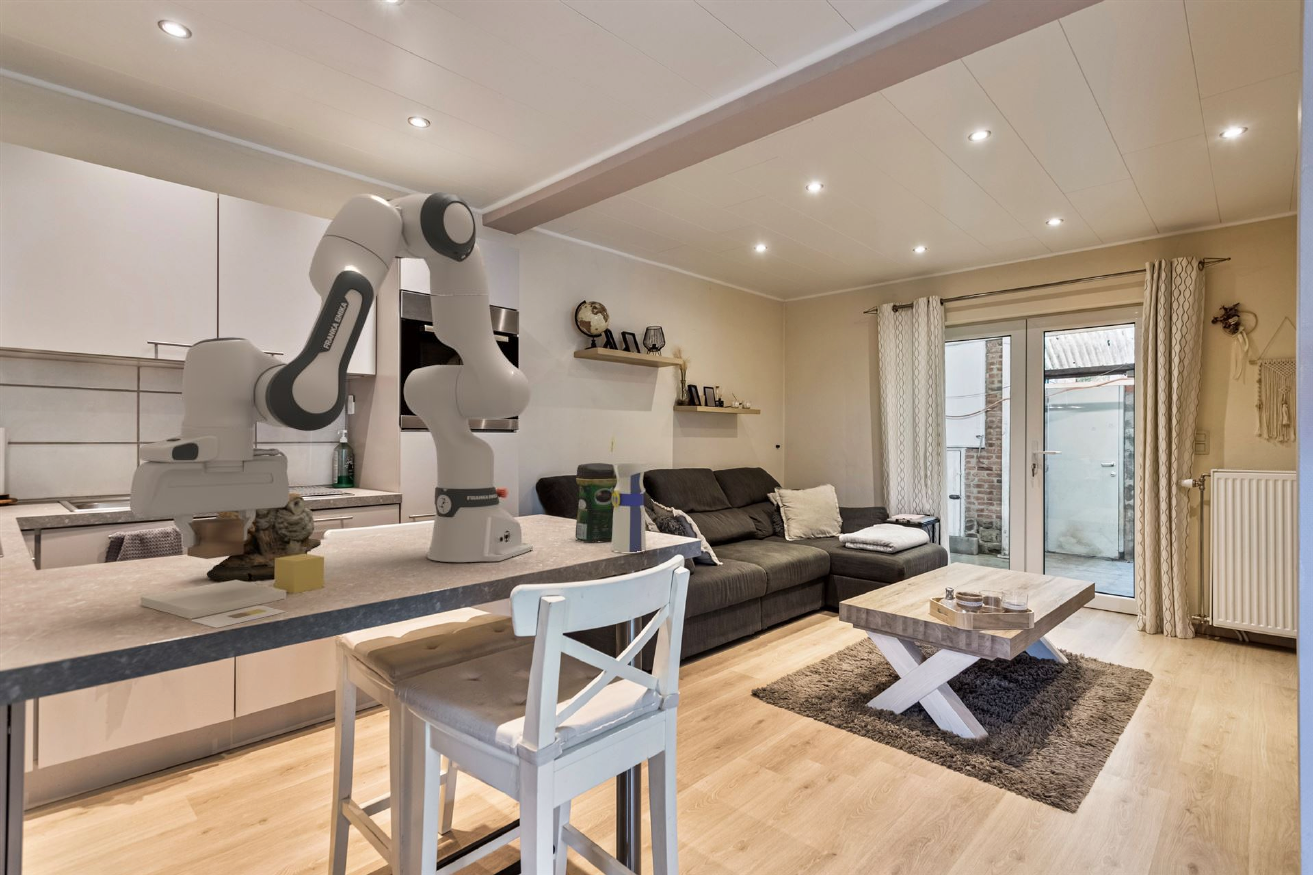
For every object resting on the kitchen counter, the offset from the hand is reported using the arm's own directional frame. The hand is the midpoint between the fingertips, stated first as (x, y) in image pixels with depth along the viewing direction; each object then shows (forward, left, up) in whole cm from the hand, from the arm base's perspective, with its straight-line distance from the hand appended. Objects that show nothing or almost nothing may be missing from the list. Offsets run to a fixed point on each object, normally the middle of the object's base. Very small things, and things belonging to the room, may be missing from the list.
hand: (215, 543), depth 95 cm
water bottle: (-71, +28, -9) cm, 76 cm away
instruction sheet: (+2, +10, -9) cm, 14 cm away
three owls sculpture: (-15, -13, -9) cm, 22 cm away
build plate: (0, 0, -9) cm, 9 cm away
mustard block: (-12, +2, -9) cm, 15 cm away
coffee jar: (-79, +14, -9) cm, 80 cm away
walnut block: (0, 0, -2) cm, 2 cm away
